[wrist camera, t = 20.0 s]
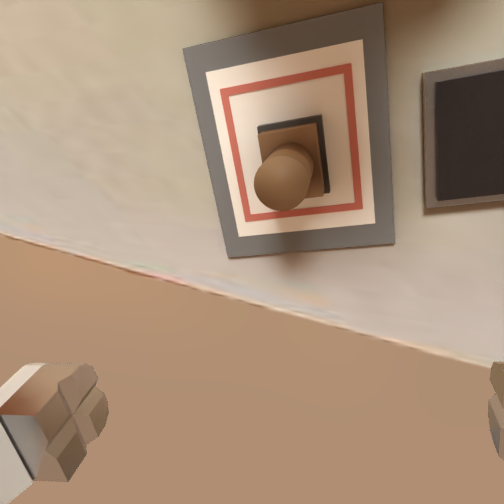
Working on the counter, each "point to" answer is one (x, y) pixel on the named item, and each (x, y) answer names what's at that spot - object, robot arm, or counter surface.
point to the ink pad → (464, 134)
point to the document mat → (293, 107)
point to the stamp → (291, 162)
